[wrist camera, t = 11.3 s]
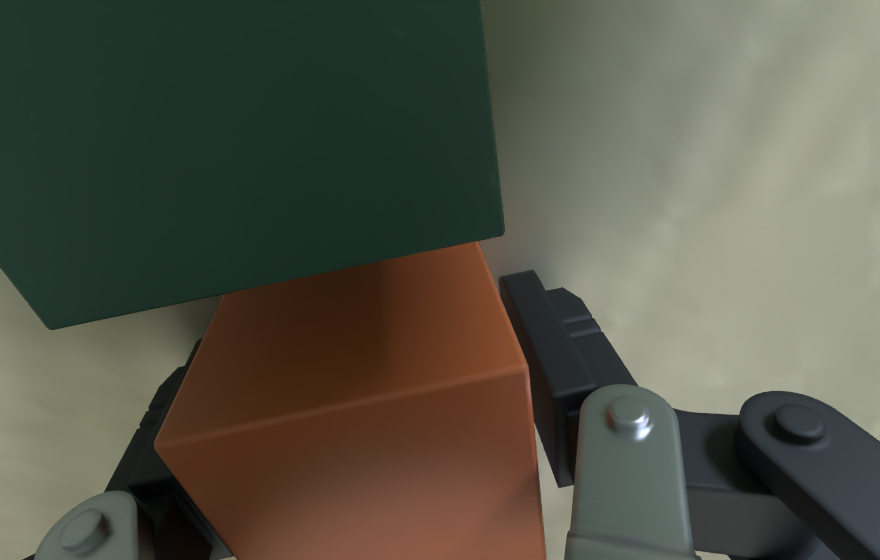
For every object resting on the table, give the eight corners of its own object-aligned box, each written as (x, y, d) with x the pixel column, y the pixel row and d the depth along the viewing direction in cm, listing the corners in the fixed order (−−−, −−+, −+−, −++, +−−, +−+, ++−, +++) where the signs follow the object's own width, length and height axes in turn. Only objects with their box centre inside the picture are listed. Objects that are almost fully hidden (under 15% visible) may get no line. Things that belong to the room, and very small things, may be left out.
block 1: (446, 122, 9) (506, 236, 5) (193, 174, 9) (47, 333, 5) (389, -237, 6) (417, -600, 2) (35, -167, 6) (-542, -419, 2)
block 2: (491, 377, 12) (548, 565, 8) (310, 415, 12) (281, 623, 8) (466, 211, 10) (531, 366, 6) (238, 257, 10) (148, 446, 6)
